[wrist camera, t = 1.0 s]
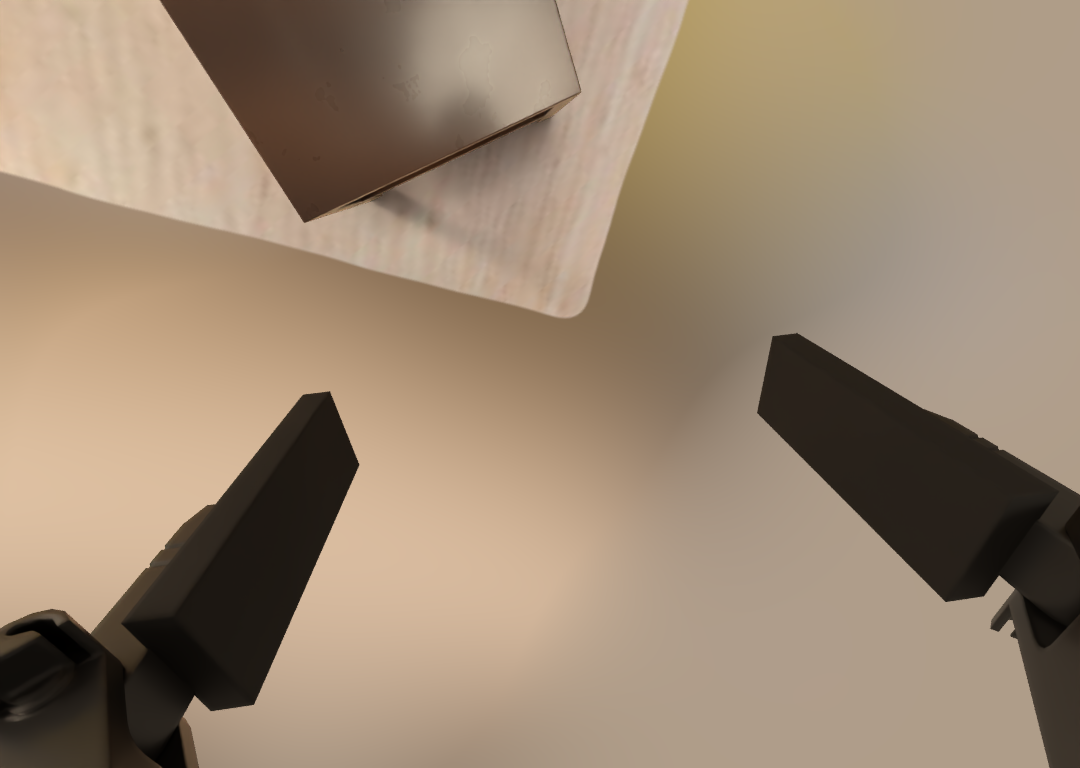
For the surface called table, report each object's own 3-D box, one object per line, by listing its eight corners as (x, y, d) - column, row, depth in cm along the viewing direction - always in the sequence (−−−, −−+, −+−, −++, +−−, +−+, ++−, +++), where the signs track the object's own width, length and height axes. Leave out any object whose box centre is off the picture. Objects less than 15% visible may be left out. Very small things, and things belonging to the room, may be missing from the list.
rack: (260, 7, 26) (95, -98, 15) (479, -112, 24) (463, -322, 14) (369, 201, 31) (303, 223, 21) (553, 115, 30) (581, 92, 19)
